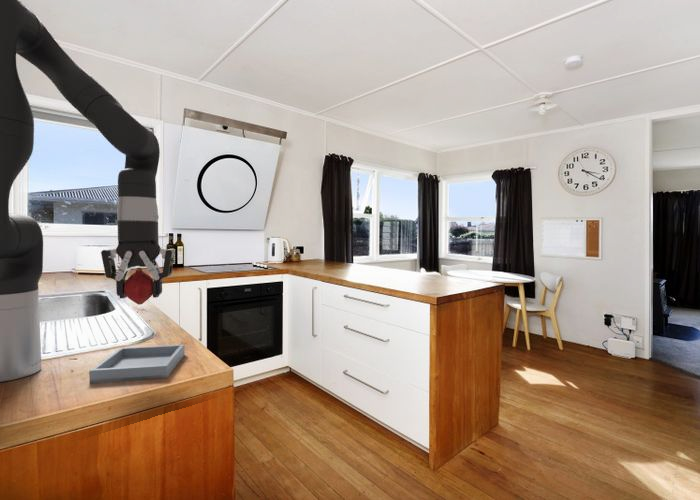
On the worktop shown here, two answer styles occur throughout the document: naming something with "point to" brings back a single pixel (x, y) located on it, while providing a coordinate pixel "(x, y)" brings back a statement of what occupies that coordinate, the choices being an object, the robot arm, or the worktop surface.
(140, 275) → the onion
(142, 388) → the worktop surface
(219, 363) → the worktop surface
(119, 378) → the tray
